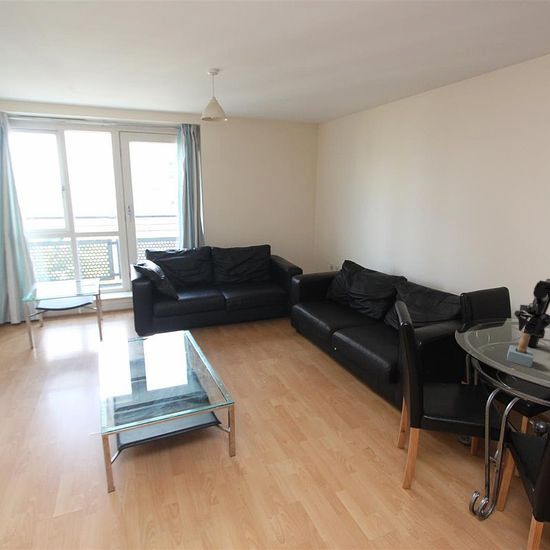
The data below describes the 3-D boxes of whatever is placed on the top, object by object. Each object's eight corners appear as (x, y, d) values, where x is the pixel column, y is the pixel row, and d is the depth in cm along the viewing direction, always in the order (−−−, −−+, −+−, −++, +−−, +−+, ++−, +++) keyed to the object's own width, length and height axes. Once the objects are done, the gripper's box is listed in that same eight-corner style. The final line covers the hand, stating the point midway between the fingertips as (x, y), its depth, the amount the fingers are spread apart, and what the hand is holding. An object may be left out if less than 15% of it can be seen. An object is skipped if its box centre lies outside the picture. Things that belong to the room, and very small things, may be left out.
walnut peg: (519, 356, 187) (526, 332, 184) (525, 360, 184) (532, 335, 180) (513, 356, 186) (520, 332, 183) (519, 360, 183) (526, 335, 180)
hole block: (507, 353, 192) (510, 344, 191) (530, 360, 187) (533, 351, 185) (506, 360, 184) (509, 351, 182) (530, 367, 179) (533, 358, 177)
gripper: (511, 296, 199) (500, 322, 198) (544, 298, 181) (532, 328, 180) (527, 305, 201) (516, 331, 200) (560, 308, 183) (549, 337, 182)
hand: (527, 331), depth 190 cm, fingers open, 9 cm apart
